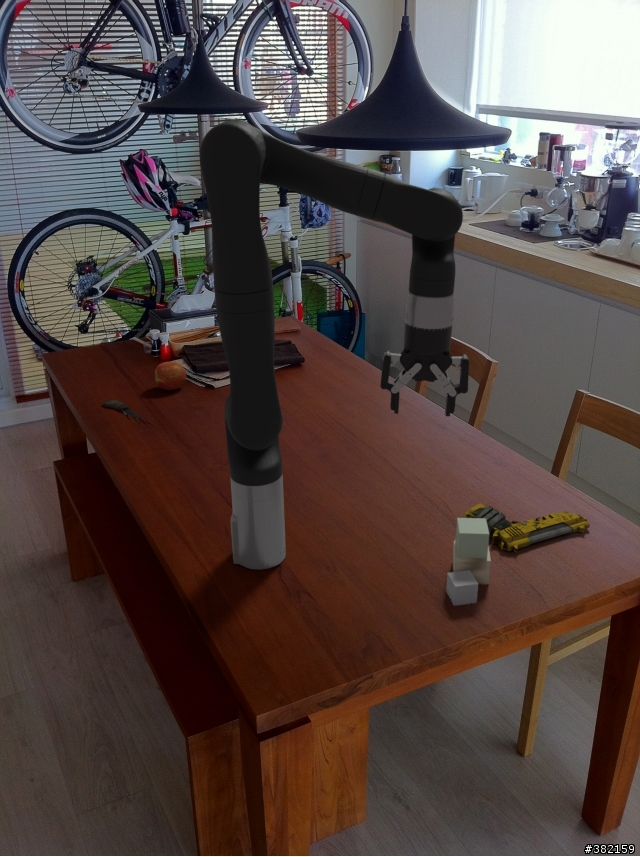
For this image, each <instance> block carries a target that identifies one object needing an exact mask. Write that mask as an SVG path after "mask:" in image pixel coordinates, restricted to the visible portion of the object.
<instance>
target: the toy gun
mask: <svg viewBox="0 0 640 857" xmlns="http://www.w3.org/2000/svg"><path fill="white" fill-rule="evenodd" d="M464 518H484V519H486V521H487V526H488V530H489V539H491V544H492V545H495V544H497V545H498V546H499V547H500V550H501V551H503V550H504V551H505V550H506V551H507V552H510V551H513V552H515V553H518V550H519V549H521V548H524V547H528V546H530V545H531V544H535V543H538V542H541V541H545V540H549V539H551V538H555V537H559V536H562V535H566V534H569V533H572V534H573V533H575V532H580V533H584V534H585V530H586V529H589V528H590V527H591V524H590V523H589V522H588V519H587V518H586V517H585V516H582V515H580V514H578V513H570V512H569V511H567V510H566V511H562V512H559V513H557V512H552V513H549V514H548V516H547V514H544V515H542V517H540V516H537V517H535V519H533V518H530V519H527V520H524V521H517V520H512V521H509V520H507V519H506V514H504V513H503V512H501V511H500V510H498V509H497V508H494V507H493V506H491V505H488V506H487V507H486V506H484V505H483V503H482V502H480V503H478V504H476V505H474V506H473V507H471V508H470V509H469V510H466V511H465V513H464Z"/></svg>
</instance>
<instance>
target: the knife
mask: <svg viewBox="0 0 640 857" xmlns="http://www.w3.org/2000/svg"><path fill="white" fill-rule="evenodd" d="M103 406H105V407H106V408H109V407H112V408H111V409H113V408H116V409H115V410H117V409H118V410H117V411H119V410H121V411H123V412H122V413H123V414H124V415H125V416H126V415H130V416H132V418H134V417H135V418H138V419H139V418H140V419H141V418H142V419H145V418H143V417H142V416H141V415H140V414H138V413H137V412H135V411H134V410H132V409H131V408H129V406H128V405H127V404H125V402H122V401H119V400H116V399H115V400H114V399H113V400H111V399H110V400H105V401H103ZM121 411H120V412H121Z"/></svg>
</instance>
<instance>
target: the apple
mask: <svg viewBox="0 0 640 857" xmlns="http://www.w3.org/2000/svg"><path fill="white" fill-rule="evenodd" d="M154 380H155V382H156V384H157V385H156V386H158V387H159V388H160V389H162V390H165V391H175V390H177V389H178V390H179V389H180V388H181V387H182V386H184V384H185V383H186V381H187V372H186V369H185V368H184V366H182V365H181V364H180V363H178V362H176V361H164V362H161V363H160V364H158V365H157V366H156V368H155V370H154Z"/></svg>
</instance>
